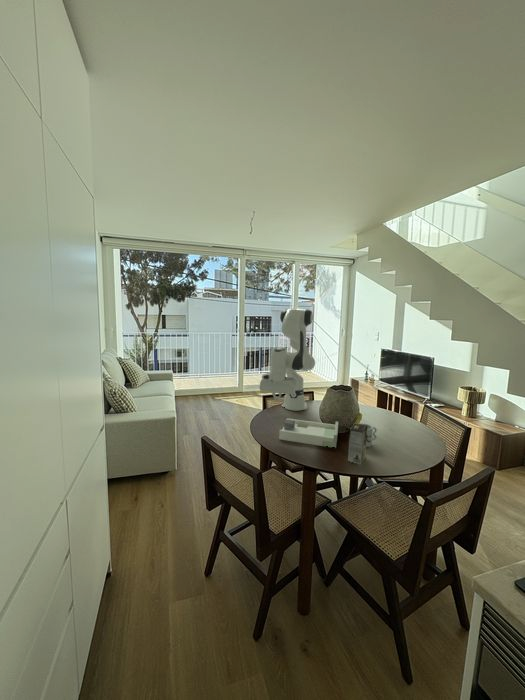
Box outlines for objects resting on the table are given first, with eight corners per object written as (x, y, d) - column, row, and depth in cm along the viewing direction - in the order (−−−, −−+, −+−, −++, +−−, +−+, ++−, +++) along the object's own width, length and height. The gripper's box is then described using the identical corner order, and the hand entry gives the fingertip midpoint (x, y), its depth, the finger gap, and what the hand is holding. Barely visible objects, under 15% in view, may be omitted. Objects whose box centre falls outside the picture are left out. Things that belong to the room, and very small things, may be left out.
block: (285, 426, 176) (286, 419, 175) (294, 427, 175) (294, 420, 174) (284, 429, 171) (284, 422, 171) (292, 430, 170) (293, 423, 169)
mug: (360, 448, 157) (361, 430, 156) (350, 441, 166) (352, 423, 164) (380, 446, 160) (382, 428, 159) (370, 439, 169) (371, 422, 168)
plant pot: (358, 426, 189) (360, 410, 187) (362, 432, 178) (363, 416, 177) (341, 424, 190) (342, 409, 188) (344, 431, 179) (345, 415, 178)
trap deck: (286, 426, 184) (287, 415, 183) (337, 433, 176) (338, 421, 175) (279, 439, 165) (279, 426, 164) (335, 448, 157) (336, 435, 156)
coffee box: (351, 453, 151) (354, 422, 149) (365, 457, 148) (368, 425, 146) (347, 461, 143) (349, 428, 141) (361, 465, 140) (364, 431, 138)
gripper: (297, 376, 171) (295, 400, 173) (262, 373, 177) (261, 396, 179) (295, 379, 165) (293, 403, 167) (259, 375, 171) (258, 399, 173)
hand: (276, 400), depth 173 cm, fingers closed
